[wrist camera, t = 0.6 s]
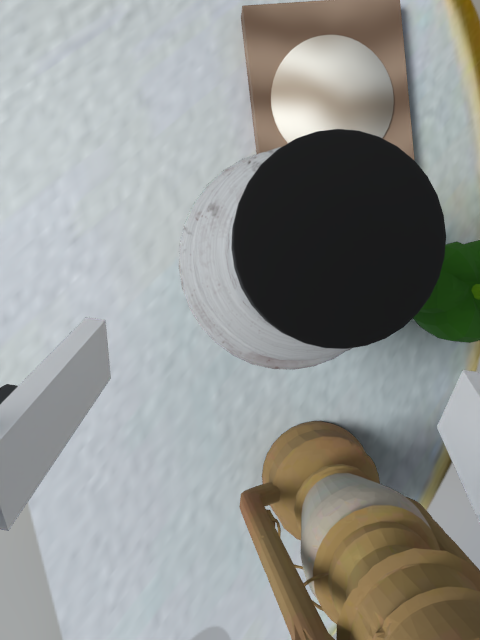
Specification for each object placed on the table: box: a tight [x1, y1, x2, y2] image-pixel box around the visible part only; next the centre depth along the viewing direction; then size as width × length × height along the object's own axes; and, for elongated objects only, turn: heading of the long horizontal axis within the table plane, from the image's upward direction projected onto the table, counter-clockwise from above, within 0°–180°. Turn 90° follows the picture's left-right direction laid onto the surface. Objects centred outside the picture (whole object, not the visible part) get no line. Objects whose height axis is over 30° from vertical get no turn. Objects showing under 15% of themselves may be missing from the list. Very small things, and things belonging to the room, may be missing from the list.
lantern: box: [240, 421, 480, 640], centre depth 23 cm, size 15×10×30 cm
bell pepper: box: [413, 240, 480, 343], centre depth 33 cm, size 8×8×10 cm
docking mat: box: [241, 0, 414, 160], centre depth 35 cm, size 17×14×2 cm
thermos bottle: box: [179, 129, 446, 369], centre depth 22 cm, size 8×8×28 cm
